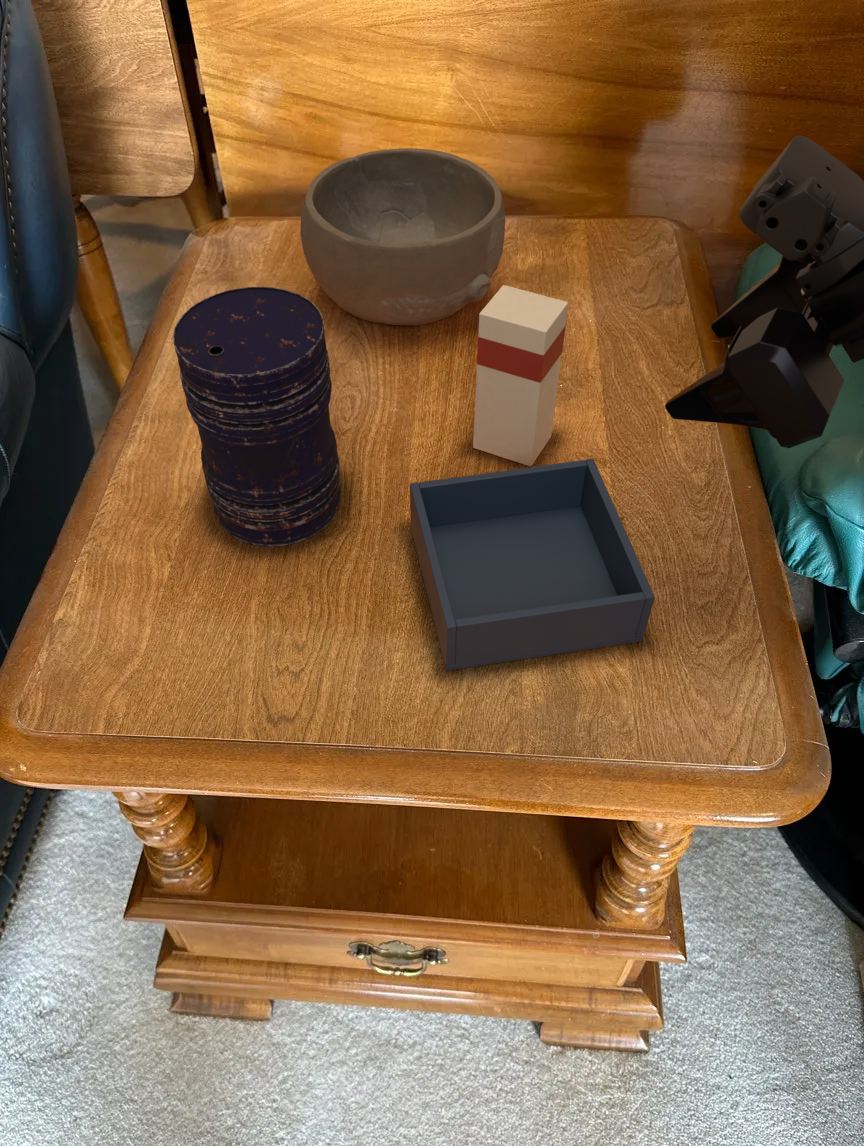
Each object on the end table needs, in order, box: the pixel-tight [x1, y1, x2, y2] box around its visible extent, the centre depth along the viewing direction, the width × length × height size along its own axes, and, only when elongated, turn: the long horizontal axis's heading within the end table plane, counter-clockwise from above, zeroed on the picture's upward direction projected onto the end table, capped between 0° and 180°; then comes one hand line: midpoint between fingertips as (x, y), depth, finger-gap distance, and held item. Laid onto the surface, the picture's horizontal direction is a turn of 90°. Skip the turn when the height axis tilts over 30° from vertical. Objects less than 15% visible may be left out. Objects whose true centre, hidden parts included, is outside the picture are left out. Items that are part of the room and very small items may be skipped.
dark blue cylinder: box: [172, 286, 342, 547], centre depth 67 cm, size 10×10×15 cm
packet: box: [472, 284, 569, 467], centre depth 71 cm, size 5×4×12 cm
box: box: [409, 458, 656, 672], centre depth 65 cm, size 13×13×4 cm
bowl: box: [299, 147, 506, 326], centre depth 85 cm, size 17×18×10 cm
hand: (692, 369), depth 60 cm, fingers open, 9 cm apart
